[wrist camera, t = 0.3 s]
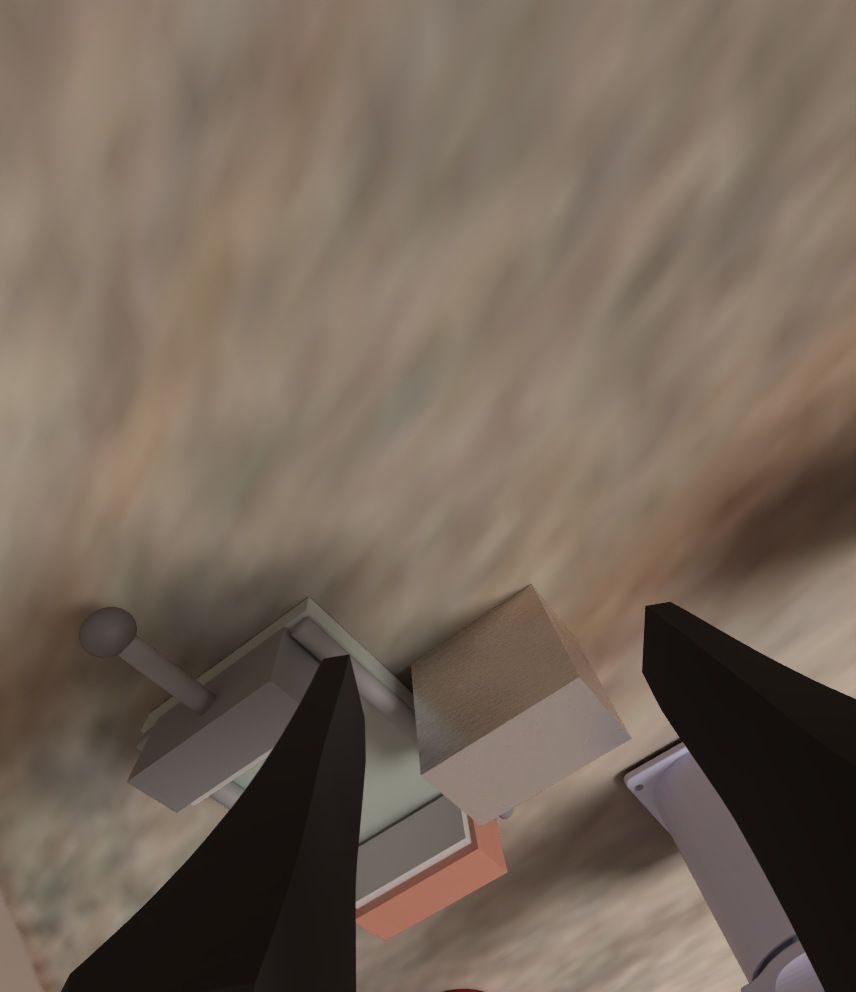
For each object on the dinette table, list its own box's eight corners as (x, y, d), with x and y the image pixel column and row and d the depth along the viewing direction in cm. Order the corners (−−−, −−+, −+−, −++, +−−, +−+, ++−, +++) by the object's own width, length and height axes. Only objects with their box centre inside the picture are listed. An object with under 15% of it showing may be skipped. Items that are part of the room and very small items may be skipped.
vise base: (508, 780, 28) (530, 859, 24) (366, 865, 30) (365, 952, 26) (211, 504, 20) (173, 557, 16) (41, 641, 22) (-30, 718, 18)
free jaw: (494, 810, 27) (507, 872, 24) (384, 875, 29) (384, 940, 26) (461, 782, 26) (472, 843, 23) (348, 851, 28) (345, 916, 25)
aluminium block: (574, 636, 25) (631, 738, 19) (459, 709, 26) (481, 826, 20) (531, 582, 23) (579, 676, 18) (410, 663, 24) (420, 775, 19)
